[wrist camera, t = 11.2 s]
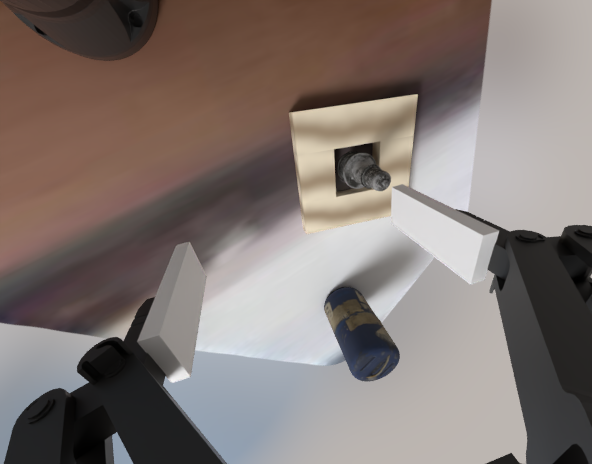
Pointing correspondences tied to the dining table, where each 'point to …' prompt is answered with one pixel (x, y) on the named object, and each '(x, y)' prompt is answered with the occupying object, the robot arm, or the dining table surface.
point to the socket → (344, 133)
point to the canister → (360, 335)
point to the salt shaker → (362, 172)
